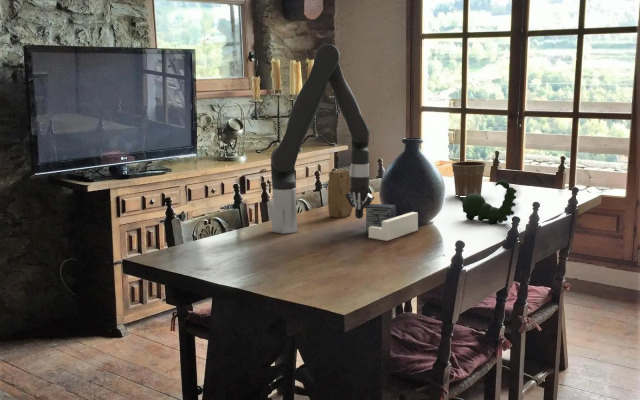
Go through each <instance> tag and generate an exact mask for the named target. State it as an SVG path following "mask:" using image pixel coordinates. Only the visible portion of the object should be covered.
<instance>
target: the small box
mask: <svg viewBox="0 0 640 400" xmlns="http://www.w3.org/2000/svg"><path fill="white" fill-rule="evenodd" d="M396 206H397V205H396V204H382V203H370V204H369V205H367V206H366V208H365V213H366V214H365V216H366V217H365V220H366V221H365V222H366V224H365V225H366V227H365V229H366V230H365V232H366V233H368V234H369V227H371V226H377V227H382V221H384V220H388V219H391V218H394V217H397V214H396V213H397V212H396V211H397V207H396Z"/></svg>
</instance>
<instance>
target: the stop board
mask: <svg viewBox="0 0 640 400" xmlns="http://www.w3.org/2000/svg"><path fill="white" fill-rule="evenodd" d="M416 231H419V213H418V212H417V211H416V212H415V211H410V212H407V213H404V214H402V215H398V216H397V215H396V217H394V218H391V219H388V220H384V221H382V227H377V226H371V227H369V233H368V239H369V238H370V239H376V240H381V241H390V240H393V239H396V238H399V237H402V236H405V235H408V234H411V233H415V232H416Z"/></svg>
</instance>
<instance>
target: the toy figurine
mask: <svg viewBox="0 0 640 400" xmlns="http://www.w3.org/2000/svg"><path fill="white" fill-rule="evenodd" d="M495 186H502V188H503V189H506V190H505V194H504V196H503V197H504V198H503V200H502V203H501V205H500V207H496V206H493V205H491V203H488V202H486V199H485V198H484V197H483V196H482V194H481V195H479V194H476V193H472V194H469V195H467V196H466V197H460V196H458V197H457V199H458V201H460V202H461V205H462V206H461V207H462V212H463V213H465V214H466V215H465V217H466V220H468V219H472V220H474V219H475V217H477V221H478V222H480V223H481V222H483V221H484V220H485V221H486V220H487V223H488V224H489V223H492V224H493V223H497V221H498V223H499V224H502V223H503V222H507V221H508V217H510V216H514V214H515V211H514V210H513V209H512V208H513V207H515V206H517V205H516V202H514V201H515V200H516V199H517V196H516V195H515V194H516V193H517V190H516V189H515V188H514V187H512V186H510V183H509V182H508V181H506V180H498V181H497V182H495ZM507 216H508V217H507Z"/></svg>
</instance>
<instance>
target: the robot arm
mask: <svg viewBox="0 0 640 400" xmlns="http://www.w3.org/2000/svg"><path fill="white" fill-rule="evenodd" d="M340 57H341V55H340V51H339V49H338V47H336V46H335V45H334V44H330V43H325V44H323V45H320V46H319V47H318V48H317V50H316V52H315V54H314V60H313V64H312V65H311V66H312V67H311V69H310V72H309V75H308V77H307V79H306V81H305V82H304V84H303V85H302V87H301V89H300V90H299V92H298V94H297V96H296V99H295V100H294V103H293V105H292V107H291V110H290V114H289V117H288V121H287V124H286V130H285V132H284V135H283V138H282V139H281V142H280V143H279V145H278V146H277V147H276V148H274V149H273V151H272V152H271V154H270V169H271V170H270V171H271V184H272V185H271V186H272V208H271V211H270V212H271V213H270V214H271V232H272V233H277V234H282V235H283V234H291V233H295V232H297V231H298V217H297V216H298V214H297V213H298V211H297V181H296V167H295V166H296V161H297V159H298V156H299V153H300V150H301V146H302V143H303V141H304V139H305V137H306V136H307V134H308V132H309V130H310V128H311V125H312V124H313V122H314V120H315V117H316V115H317V113H318V111H319V108H320V106H321V103H322V100H323V96H324V93H325V91H326V86H327V84H329V86H330V88H331V91H332V93H333V95H334V98H335V100H336V104H337V105H338V108H339V111H340V113H341V115H342V117H343V119H344V120H345V122H346V125H347V129H348V132H349V133H350V136H351V139H350V140H351V154H350V170H349V173H350V186H351V189H350V192H349V193H347V194H345V196H346V198H347V199H348V201H349V203H350V205H351V206H352V207H353V209H354V210H355V213H354V215H355V216H354V217H355V218H356V219H359V220H360V219H362V218H363V217H364V209H366V206H367V205H369V204H372V202H373V200H374V199H375V197H374V196H372V195H371V194H370V191H369V187H370V151H369V143H370V142H369V140H370V130H369V129H370V128H369V127H368V125H367V124H366V122H365V119H364V117H363V116H362V112H361V108H360V107H359V103H358V102H357V99H356V97H355V96H354V93H353V92H352V90H351V88H350V86H349V84H348V82H347V81H346V78H345V77H344V74H343V73H344V72H343V71H342V69H341V68H342V67H341V65H340V60H341V58H340Z"/></svg>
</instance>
